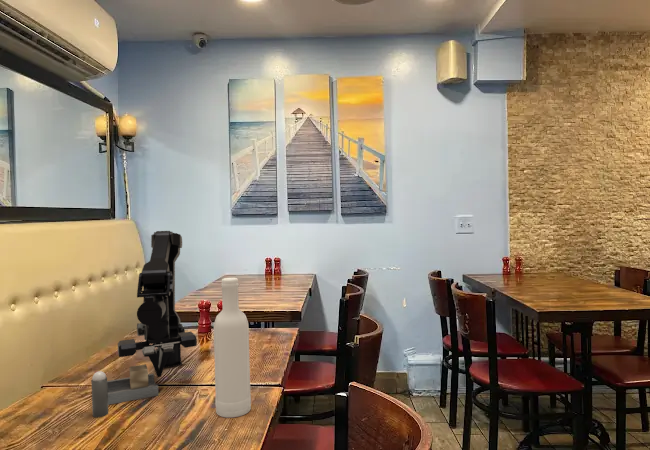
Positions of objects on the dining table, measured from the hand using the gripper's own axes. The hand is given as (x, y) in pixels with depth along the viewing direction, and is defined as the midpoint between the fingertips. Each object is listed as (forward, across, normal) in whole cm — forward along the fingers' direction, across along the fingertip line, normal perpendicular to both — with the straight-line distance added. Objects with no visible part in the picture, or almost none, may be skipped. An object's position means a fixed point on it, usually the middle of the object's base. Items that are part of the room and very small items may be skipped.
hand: (158, 376), depth 120 cm
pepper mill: (+3, +14, +10) cm, 17 cm away
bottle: (+3, -13, +23) cm, 27 cm away
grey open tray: (+3, +8, 0) cm, 8 cm away
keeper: (+2, +5, 0) cm, 5 cm away
